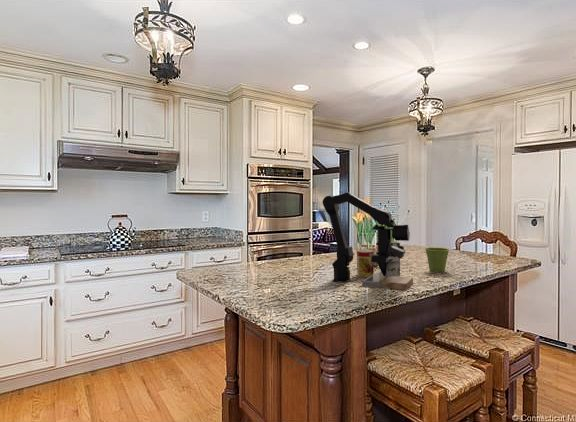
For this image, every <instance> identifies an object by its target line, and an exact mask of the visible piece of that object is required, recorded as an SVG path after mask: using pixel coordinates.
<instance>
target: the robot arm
mask: <svg viewBox="0 0 576 422" xmlns="http://www.w3.org/2000/svg"><path fill="white" fill-rule="evenodd" d="M345 203H349V204H350V205H352V206H354V207H356V208H357V209H359V210H361V211H362V212H364V213H365V214H367V215H369V216H370V218H372V219H373V220H374V221H375V222H376V223H377V224H375V226H373V228H372V230H373V231H374V230H376V231H377V242H376V243H375V245H376V246H377V251H376V254H373V256H372V257H371V262H374V263H376V264H377V266H378V268H379V270H381V272H382V274H383V276H386V275H387V271H388V267H389V263H390V262H392V261H393V259H390V258H389V256H390V257H394V258H396V257H398V258H400V260H401V259H403V258H404V256H405V254H406V249H405V247H404V246H403V245H400V246H399V247H395V246H393V243H392V242H391V241H392V239H394V241H396V242H399V241H403V242H408V241H410V235H411V233H410V232H411V231H410V228H409V224H396V222H395V221H394V220H393V216H392V213H390V211H387V210H385V209H381V208H379V207H376V206H373V205H372V204H370V203H368V202H366V201H365V200H363V199H361V198H359V197H358V196H356V195H354V194H353V193H352V192H344V193H341V194H337V195H326V196H324V197H323V199H322V205H323V208H324V210H325V212H326V213H327V214H328V216H329V220H330V223H331V227H332V233H333V236H334V238H335V242H336V243H335V244H336V259H335V260H334V261H333V262H332V268H333V279H332V282H340V283H347V282H349V281H350V280H351V270H350V263H351V262H353V260H354V255H355V253H354V251H353V246H351V245H350V246H349V245H348V244H347V243H348V242H347V240H346V236H345V231H344V228H343V224H342V220H341V217H340V205H342V204H345Z"/></svg>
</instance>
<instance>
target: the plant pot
mask: <svg viewBox="0 0 576 422" xmlns="http://www.w3.org/2000/svg"><path fill="white" fill-rule="evenodd" d="M424 250H425V252H426V253H425V254H426V257H427V262H428V269H429V271H430V272H433V273H441V272H442V273H444V272H445V271H446V266H447V261H448V260H447V259H448V255H449V251H451V249H450V248H446V247H426V248H424Z"/></svg>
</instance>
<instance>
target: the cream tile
mask: <svg viewBox="0 0 576 422" xmlns="http://www.w3.org/2000/svg"><path fill="white" fill-rule="evenodd" d="M384 279H386V277H385V276H383V274H382V272H381V270H380V269H378V270H376V271H375V272H374V273H373V282H381V283H382V281H383V280H384Z"/></svg>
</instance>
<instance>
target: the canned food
mask: <svg viewBox="0 0 576 422" xmlns="http://www.w3.org/2000/svg"><path fill="white" fill-rule="evenodd" d="M373 255H374V250H372V249H358V250H357V251H356V259H357V260H356V264H357V265H356V270H357V272H356V274H357V277H362V278H368V277H370V276H372V275H373V273H374V271H375V270H374V269H375V265H374V263H375V262H371V257H372V256H373Z"/></svg>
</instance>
